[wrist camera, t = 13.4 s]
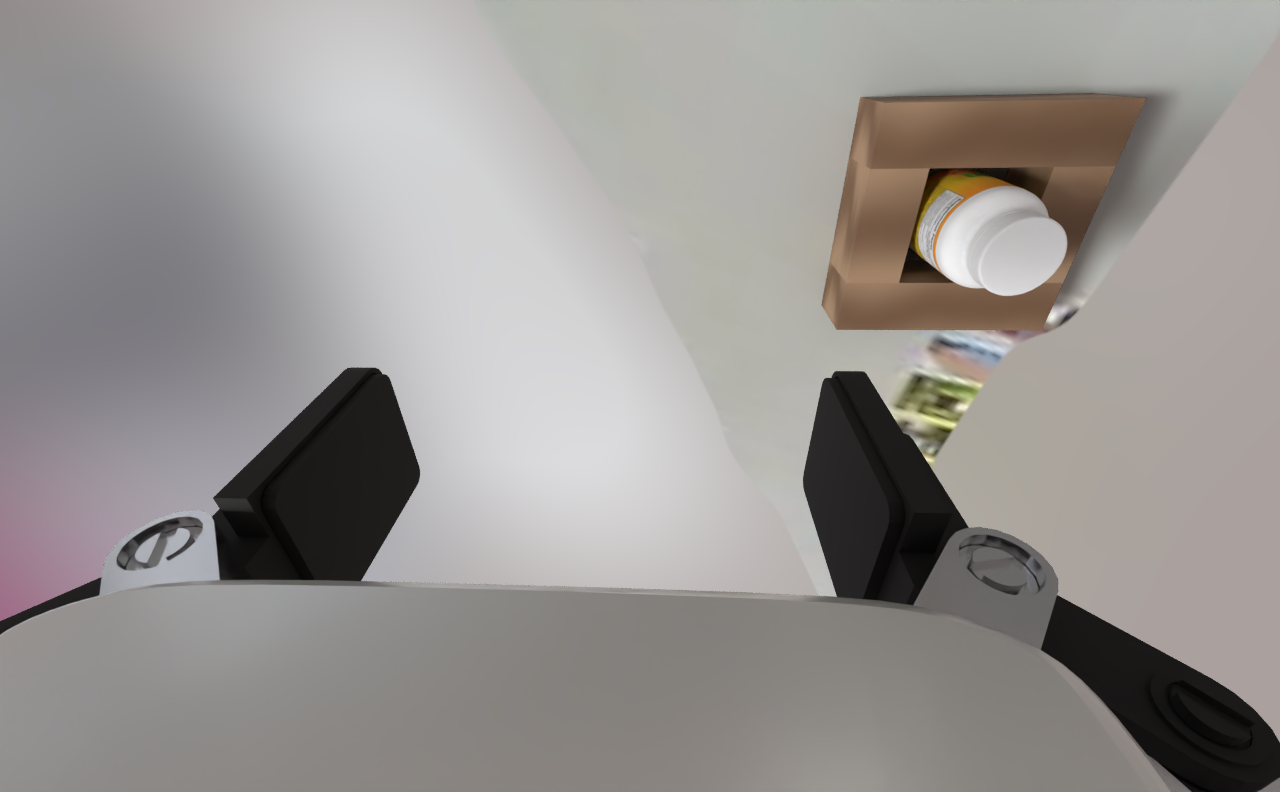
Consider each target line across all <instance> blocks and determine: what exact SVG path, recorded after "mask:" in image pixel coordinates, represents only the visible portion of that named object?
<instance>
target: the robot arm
mask: <svg viewBox="0 0 1280 792" xmlns="http://www.w3.org/2000/svg"><path fill="white" fill-rule="evenodd" d="M419 478H420V469H419V465H418V462H417V459H416V456H415V453H414V450H413V447H412V444H411V441H410V438H409V435H408V432H407V429H406V426H405V423H404V420H403V417H402V414H401V411H400V408H399V405H398V402H397V399H396V396H395V393H394V390H393V387H392V384H391V381H390V379H389V377H388V376H387V375H384V374H382V373H381V371H380V370H379V369H377V368H347V369H346V370H344V371H343V372H342V373H341V374H340V375H339V376H338V377H337V378H336V379H335V380H334V381H333V382H332V383H331V384H330V385H329V386H328V387H327V388H326V389H325V390H324V391H323V392H322V393H321V394H320V395H319V396H318V397H317V398H315V399H314V400H313V402H311V404H309V405H308V406H307V407H306V408H305V409H304V410H303V411H302V412H301V413H300V414H299V415H298V416H297V417H296V418H295V419H294V420H293V421H292V422H291V423H290V424H289V425H288V426H287V427H286V428H285V429H284V430H282V432H281V433H279V435H277V436H276V437H275V438H274V439H273V440H272V441H271V442H270V443H269V444H268V445H267V446H266V447H265V448H264V449H263V450H262V451H261V452H260V453H259V454H258V455H257V456H256V457H255V458H254V459H253V460H252V461H251V462H250V463H248V465H246V466H245V467H244V468H243V469H242V470H241V471H240V472H239V473H238V474H237V475H236V476H235V477H234V478H233V479H232V480H231V481H230V482H229V483H228V484H227V485H226V486H225V487H224V488H223V489H222V490H221V491H220V492H219V493H218V494H217V495H216V496H214V497H213V499H214V500H215V502H216V503H217V505H218V507H219V508H220V509H219V510H218V511H217V512H216V513H215V514H214V515H213V516H211V515H210V514H208V513H206V512H204V511H198V510H188V511H181V512H175V513H172V514H169V515H165V516H162V517H160V518H157V519H155V520H153V521H150V522H148V523H146V524H144V525H142V526H141V527H139V528H137V529H136V530H134V531H133V532H131V533H129V534H128V535H127V536H126V537H124V538H123V539H122V540H121V541H119V542H118V543H117V544H116V545H115V546H114V547H113V549H112V550H111V551H110V552H109V553H108V555H107V557H106V559H105V562H104V564H103V571H102V577H101V578H98V579H96V580H94V581H91V582H89V583H87V584H85V585H83V586H81V587H78V588H75V589H73V590H71V591H69V592H66V593H64V594H62V595H60V596H57V597H55V598H53V599H50V600H48V601H46V602H44V603H41V604H39V605H37V606H34V607H32V608H30V609H27V610H25V611H23V612H21V613H18V614H16V615H14V616H12V617H9V618H7V619H5V620H2V621H0V792H1280V742H1279V741H1278V739H1277V737H1276V736H1275V734H1274V732H1273V730H1272V729H1271V728H1270V727H1269V726H1268V724H1267V723H1266V722H1265V721H1264V720H1263V719H1262V718H1261V717H1260V715H1259V714H1258V713H1257V712H1256V711H1255V710H1254V709H1253V708H1252V707H1250V706H1249V705H1248V704H1247V703H1246V702H1244V701H1243V700H1242V699H1241V698H1240V697H1238V696H1237V695H1236V694H1235V693H1233V692H1232V691H1230V690H1229V689H1227V688H1226V687H1224V686H1222V685H1221V684H1219V683H1218V682H1216V681H1215V680H1213V679H1211V678H1209V677H1208V676H1206V675H1204V674H1202V673H1200V672H1198V671H1197V670H1195V669H1193V668H1191V667H1189V666H1187V665H1185V664H1184V663H1182V662H1180V661H1178V660H1176V659H1174V658H1173V657H1170V656H1169V655H1167V654H1165V653H1163V652H1161V651H1160V650H1158V649H1156V648H1154V647H1152V646H1150V645H1148V644H1147V643H1145V642H1143V641H1141V640H1139V639H1137V638H1136V637H1134V636H1131V635H1130V634H1128V633H1126V632H1124V631H1123V630H1121V629H1119V628H1117V627H1115V626H1113V625H1111V624H1110V623H1108V622H1106V621H1104V620H1102V619H1100V618H1098V617H1097V616H1095V615H1093V614H1091V613H1089V612H1087V611H1086V610H1084V609H1082V608H1080V607H1078V606H1076V605H1074V604H1073V603H1071V602H1069V601H1067V600H1065V599H1063V598H1062V597H1060V596H1058V595H1057V593H1058V578H1057V576H1056V574H1055V572H1054V570H1053V568H1052V566H1051V565H1050V564H1049V563H1048V562H1047V561H1046V559H1045V558H1044V557H1043V556H1042V555H1041V554H1040V553H1039V552H1037V551H1036V550H1035V549H1033V548H1032V547H1031V546H1030V545H1028V544H1027V543H1025V542H1023V541H1021V540H1019V539H1017V538H1016V537H1014V536H1012V535H1009V534H1006V533H1003V532H1001V531H998V530H993V529H988V528H982V527H975V528H969V527H968V526H967V524H966V523H965V521H964V519H963V518H962V516H961V515H960V513H959V511H958V510H957V509H956V507H955V505H954V504H953V502H952V500H951V499H950V497H949V496H948V494H947V493H946V491H945V489H944V488H943V486H942V485H941V483H940V482H939V480H938V478H937V477H936V475H935V474H934V472H933V470H932V469H931V467H930V466H929V464H928V463H927V461H926V459H925V458H924V456H923V455H922V453H921V452H920V450H919V448H918V447H917V445H916V444H915V442H914V441H913V439H912V438H911V437H910V436H909V435H907V434H904V433H903V432H902V431H901V429H900V427H899V426H898V424H897V423H896V421H895V419H894V418H893V416H892V415H891V413H890V411H889V410H888V408H887V406H886V405H885V403H884V402H883V400H882V398H881V397H880V395H879V394H878V392H877V390H876V389H875V387H874V385H873V384H872V382H871V381H870V379H869V377H868V376H867V374H866V373H865V372H862V371H836V372H834V374H833V375H832V378H825V379H824V381H823V383H822V388H821V392H820V397H819V402H818V407H817V412H816V417H815V421H814V426H813V431H812V436H811V441H810V446H809V451H808V455H807V460H806V465H805V470H804V476H803V486H804V492H805V495H806V498H807V501H808V505H809V508H810V511H811V514H812V518H813V521H814V524H815V527H816V530H817V534H818V537H819V540H820V543H821V547H822V550H823V553H824V556H825V559H826V563H827V566H828V569H829V572H830V576H831V579H832V582H833V585H834V588H835V592H836V595H837V597H828V596H810V595H789V594H766V593H747V592H716V591H688V590H660V589H630V588H628V589H627V588H599V587H597V588H596V587H565V586H564V587H563V586H562V587H561V586H530V585H527V586H526V585H495V584H494V585H493V584H492V585H491V584H459V583H417V582H415V583H413V582H373V581H370V582H369V581H361V580H362V578H363V576H364V575H365V573H366V571H367V570H368V568H369V566H370V565H371V563H372V561H373V559H374V558H375V556H376V554H377V553H378V551H379V549H380V547H381V546H382V544H383V542H384V541H385V539H386V537H387V535H388V534H389V532H390V530H391V528H392V527H393V525H394V524H395V522H396V520H397V518H398V517H399V515H400V513H401V512H402V510H403V508H404V507H405V505H406V503H407V501H408V500H409V498H410V496H411V495H412V493H413V491H414V489H415V488H416V486H417V484H418V482H419Z"/></svg>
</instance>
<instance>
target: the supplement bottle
mask: <svg viewBox="0 0 1280 792" xmlns="http://www.w3.org/2000/svg"><path fill="white" fill-rule="evenodd" d="M909 248H911V249H912V250H913V251H914V252H915V253H917V254H918V255H919V256H921V257H922V258H923V259H924V260H926V261H927V262H928V263H929V264H931V265H932V266H933V267H934V268H936V269H937V270H938V271H939V272H941V273H942V274H943V275H944V276H945V277H947V278H948V279H950V280H951V281H953V282H955V283H957V284H959V285H961V286H964V287H968V288H985V289H987V290H988V291H990V292H992V293H994V294H997V295H1002V296H1013V295H1019V294H1023V293H1026V292H1028V291H1031V290H1033V289H1035V288H1036V287H1038V286H1040V285H1041V284H1043V283H1044V282H1045V281H1047V280H1048V279H1049V278H1050V277H1051V276H1052V275H1053V274H1054V273H1055V272H1056V270H1057V269H1058V268H1059V266H1060V265H1061V263H1062V261H1063V259H1064V257H1065V254H1066V250H1067V236H1066V233H1065V231H1064V229H1063V227H1062V226H1061V225H1060V224H1059V223H1058V222H1056V221H1055V220H1053V219H1051V218H1049V215H1048V212H1047V209H1046V207H1045V205H1044V204H1043V202H1042V201H1041V200H1040V199H1039V198H1038V197H1037V196H1036V195H1034V194H1033V193H1031V192H1029V191H1027V190H1025V189H1023V188H1020V187H1017V186H1015V185H1012V184H1010V183H1007V182H1004V181H1002V180H999V179H997V178H994V177H991V176H988V175H986V174H983V173H980V172H978V171H975V170H972V169H970V168H937V169H934V170H932V171H930V172H929V173H928V177H927V180H926V184H925V188H924V191H923V195H922V199H921V203H920V206H919V210H918V214H917V218H916V221H915V225H914V229H913V232H912V236H911V240H910V244H909Z"/></svg>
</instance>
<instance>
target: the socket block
mask: <svg viewBox="0 0 1280 792" xmlns="http://www.w3.org/2000/svg"><path fill="white" fill-rule="evenodd" d="M1145 100H1146V98H1139V97H1127V96H1116V95H1105V94H1094V93H1084V94H1029V95H973V96H918V97H863V98H860V103H859V108H858V113H857V119H856V124H855V130H854V135H853V140H852V146H851V151H850V156H849V162H848V167H847V172H846V178H845V183H844V188H843V194H842V199H841V204H840V210H839V215H838V220H837V226H836V231H835V236H834V242H833V247H832V253H831V258H830V263H829V269H828V274H827V279H826V285H825V290H824V295H823V301H822V306H823V308H824V310H825V311H826V313H827V315H828V316H829V318H830V319H831V321H832V323H833V324H834V326H835V328H836V329H837V330H1042V328H1043V326H1044V324H1045V322H1046V320H1047V317H1048V315H1049V313H1050V311H1051V309H1052V306H1053V304H1054V302H1055V300H1056V297H1057V295H1058V293H1059V291H1060V289H1061V286H1062V284H1063V282H1064V280H1065V277H1066V275H1067V273H1068V271H1069V269H1070V266H1071V264H1072V262H1073V260H1074V257H1075V255H1076V253H1077V251H1078V249H1079V246H1080V244H1081V242H1082V240H1083V238H1084V235H1085V233H1086V231H1087V229H1088V226H1089V224H1090V222H1091V220H1092V218H1093V215H1094V213H1095V211H1096V209H1097V206H1098V204H1099V202H1100V200H1101V198H1102V195H1103V193H1104V191H1105V189H1106V187H1107V184H1108V182H1109V180H1110V178H1111V175H1112V173H1113V171H1114V169H1115V167H1116V164H1117V162H1118V160H1119V158H1120V155H1121V153H1122V151H1123V149H1124V147H1125V144H1126V142H1127V140H1128V138H1129V135H1130V133H1131V131H1132V129H1133V127H1134V124H1135V122H1136V120H1137V118H1138V116H1139V113H1140V111H1141V109H1142V107H1143V104H1144V102H1145ZM930 168H1009V169H1008V172H1007V175H1006V178H1005V181H1004V182H1007V183H1010V184H1012V185H1015V186H1017V187H1020V188H1023V189H1025V190H1027V191H1029V192H1031V193H1033V194H1034V195H1036V196H1037V197H1038V198H1039V199H1040V200H1041V201H1042V202H1043V204H1044V205H1045V207H1046V209H1047V212H1048V215H1049V218H1051V219H1053V220H1055V221H1056V222H1058V223H1059V224H1060V225H1061V226H1062V227H1063V229H1064V231H1065V233H1066V236H1067V250H1066V254H1065V257H1064V259H1063V261H1062V263H1061V265H1060V266H1059V268H1058V269H1057V270H1056V272H1055V273H1054V274H1053V275H1052V276H1051V277H1050V278H1049V279H1048V280H1047V281H1045V282H1044V283H1043V284H1041V285H1040V286H1038V287H1036V288H1035V289H1033V290H1031V291H1028V292H1026V293H1023V294H1019V295H1013V296H1002V295H997V294H994V293H992V292H990V291H988V290H987V289H985V288H968V287H964V286H961V285H959V284H957V283H955V282H953V281H951V280H950V279H948V278H947V277H945V276H944V275H943V274H942V273H941V272H939V271H938V270H937V269H936V268H934V267H933V266H932V265H931V264H929V263H928V262H927V261H905V259H906V255H907V251H908V247H909V244H910V240H911V236H912V232H913V229H914V225H915V221H916V218H917V214H918V210H919V206H920V203H921V199H922V195H923V191H924V188H925V184H926V180H927V177H928V173H929V169H930Z"/></svg>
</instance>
